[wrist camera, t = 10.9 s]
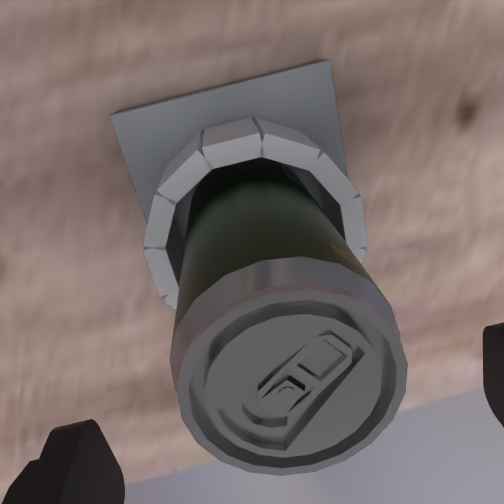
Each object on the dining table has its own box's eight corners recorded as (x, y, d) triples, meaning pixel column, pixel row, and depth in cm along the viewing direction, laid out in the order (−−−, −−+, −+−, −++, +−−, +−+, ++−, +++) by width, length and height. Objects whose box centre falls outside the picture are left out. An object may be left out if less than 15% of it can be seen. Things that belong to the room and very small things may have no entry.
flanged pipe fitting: (114, 112, 20) (83, 132, 15) (323, 59, 19) (358, 62, 15) (187, 321, 24) (181, 388, 19) (357, 280, 24) (392, 337, 19)
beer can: (242, 125, 19) (287, 223, 8) (332, 203, 21) (468, 371, 10) (165, 219, 20) (112, 412, 9) (255, 285, 22) (299, 513, 11)
